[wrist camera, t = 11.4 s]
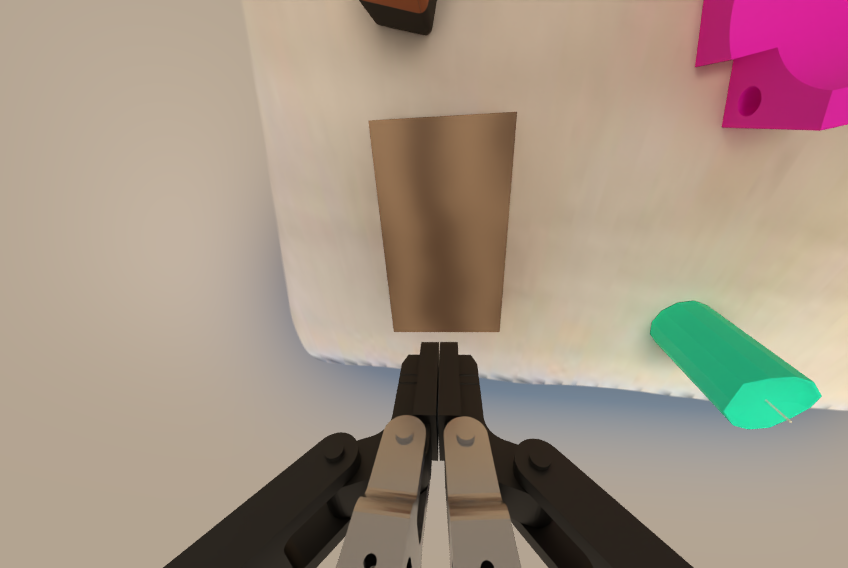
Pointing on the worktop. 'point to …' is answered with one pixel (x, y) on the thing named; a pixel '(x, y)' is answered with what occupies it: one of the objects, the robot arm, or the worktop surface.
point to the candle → (732, 367)
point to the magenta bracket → (780, 61)
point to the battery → (403, 14)
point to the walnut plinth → (444, 218)
